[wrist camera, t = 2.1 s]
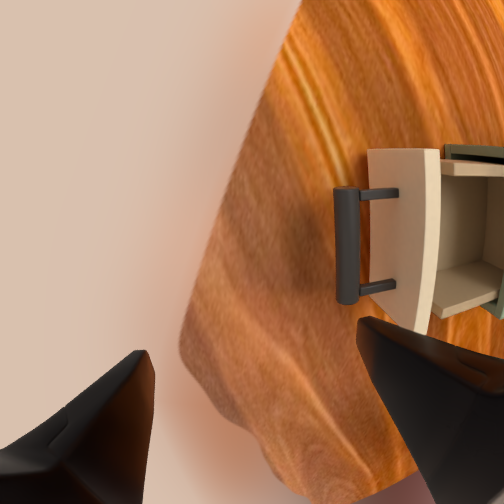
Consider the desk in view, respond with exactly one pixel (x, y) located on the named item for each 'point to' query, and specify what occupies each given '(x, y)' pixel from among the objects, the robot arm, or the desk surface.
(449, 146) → the cabinet
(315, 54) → the desk surface
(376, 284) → the drawer
